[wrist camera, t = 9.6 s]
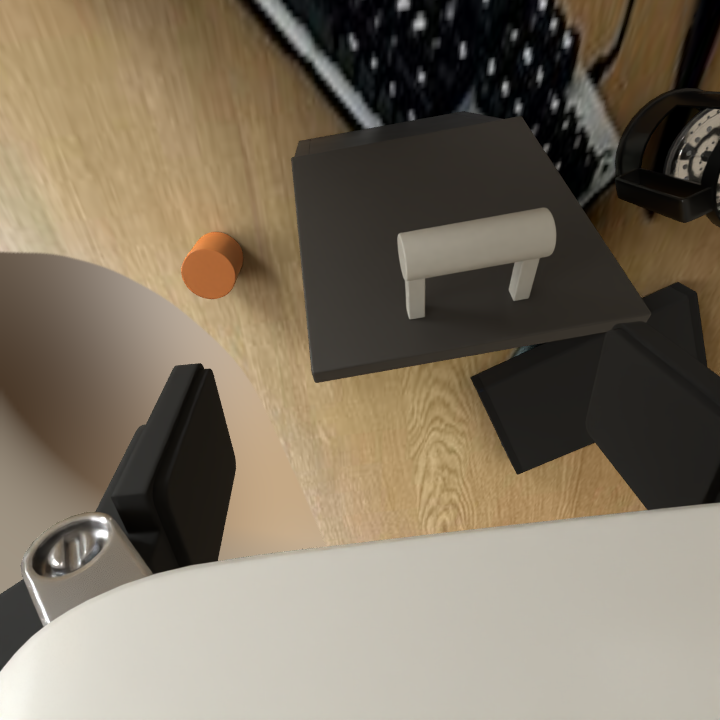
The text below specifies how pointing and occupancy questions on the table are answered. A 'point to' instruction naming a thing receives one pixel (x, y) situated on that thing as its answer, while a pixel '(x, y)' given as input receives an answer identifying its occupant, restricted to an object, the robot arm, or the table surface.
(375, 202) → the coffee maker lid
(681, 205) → the french press
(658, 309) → the external hard drive
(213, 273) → the orange cylinder
